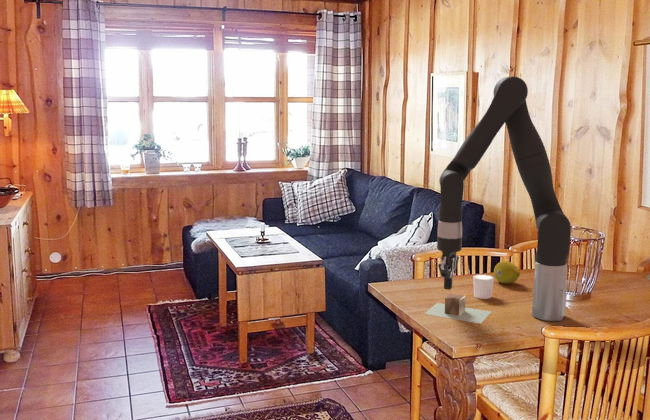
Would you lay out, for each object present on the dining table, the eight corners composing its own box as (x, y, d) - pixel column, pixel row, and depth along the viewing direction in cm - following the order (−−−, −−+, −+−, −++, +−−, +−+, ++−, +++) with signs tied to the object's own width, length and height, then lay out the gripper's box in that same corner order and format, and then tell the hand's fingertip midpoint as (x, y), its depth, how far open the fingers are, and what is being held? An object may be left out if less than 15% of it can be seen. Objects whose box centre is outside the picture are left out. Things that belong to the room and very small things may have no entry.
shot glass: (493, 300, 224) (494, 280, 222) (472, 299, 225) (473, 279, 224) (492, 294, 230) (493, 274, 229) (472, 293, 232) (472, 273, 230)
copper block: (449, 308, 215) (465, 311, 213) (444, 313, 211) (460, 315, 208) (450, 293, 214) (465, 295, 212) (445, 297, 210) (460, 300, 207)
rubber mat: (491, 312, 212) (491, 311, 212) (480, 324, 202) (480, 323, 202) (437, 303, 221) (437, 302, 221) (423, 314, 211) (423, 313, 210)
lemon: (488, 280, 246) (489, 259, 245) (507, 278, 249) (508, 257, 247) (505, 288, 236) (506, 266, 235) (524, 286, 238) (525, 264, 237)
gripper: (454, 240, 201) (452, 296, 204) (468, 232, 212) (466, 285, 215) (430, 237, 204) (429, 292, 208) (445, 229, 216) (443, 281, 219)
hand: (448, 288), depth 212 cm, fingers closed
